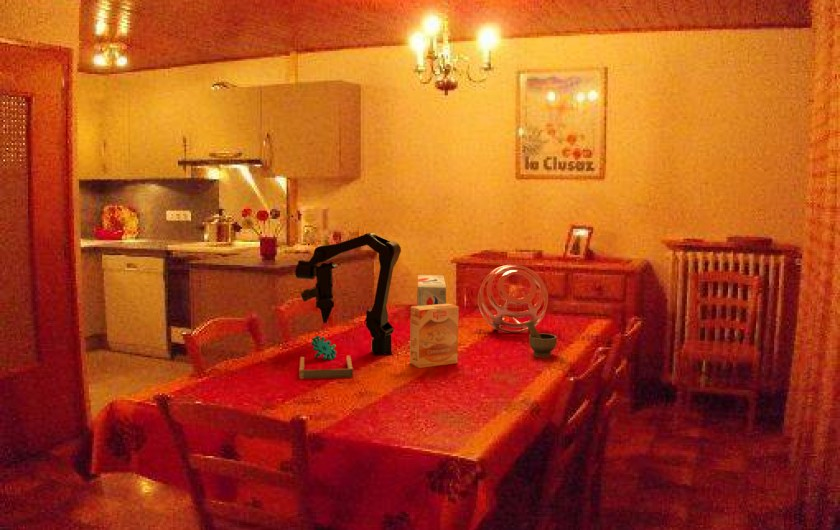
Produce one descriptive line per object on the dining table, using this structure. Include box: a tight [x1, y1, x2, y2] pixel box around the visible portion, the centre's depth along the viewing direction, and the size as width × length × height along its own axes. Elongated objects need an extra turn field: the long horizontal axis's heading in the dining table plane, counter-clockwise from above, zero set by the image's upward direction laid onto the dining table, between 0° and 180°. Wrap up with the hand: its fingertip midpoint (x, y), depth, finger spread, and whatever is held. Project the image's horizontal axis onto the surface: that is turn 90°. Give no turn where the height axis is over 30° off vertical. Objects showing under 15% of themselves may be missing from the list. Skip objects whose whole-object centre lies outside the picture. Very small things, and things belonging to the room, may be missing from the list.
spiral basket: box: [477, 264, 549, 334], centre depth 301 cm, size 28×28×27 cm
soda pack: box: [416, 274, 447, 306], centre depth 345 cm, size 41×13×14 cm, turn 0°
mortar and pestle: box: [526, 320, 558, 359], centre depth 262 cm, size 11×9×12 cm
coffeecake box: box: [409, 303, 460, 369], centre depth 249 cm, size 15×7×20 cm, turn 118°
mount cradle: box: [298, 355, 354, 380], centre depth 240 cm, size 16×17×2 cm
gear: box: [310, 335, 337, 361], centre depth 255 cm, size 11×6×10 cm
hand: (324, 322), depth 269 cm, fingers closed
